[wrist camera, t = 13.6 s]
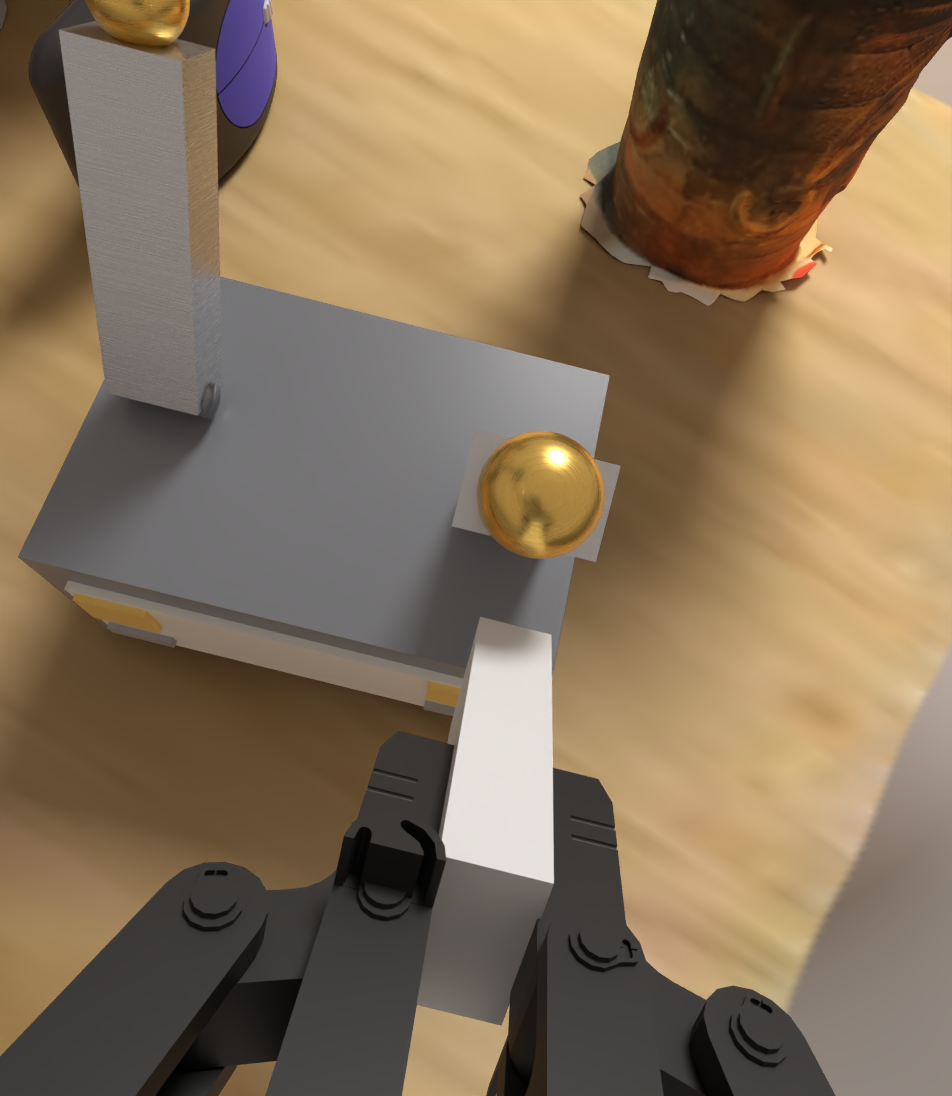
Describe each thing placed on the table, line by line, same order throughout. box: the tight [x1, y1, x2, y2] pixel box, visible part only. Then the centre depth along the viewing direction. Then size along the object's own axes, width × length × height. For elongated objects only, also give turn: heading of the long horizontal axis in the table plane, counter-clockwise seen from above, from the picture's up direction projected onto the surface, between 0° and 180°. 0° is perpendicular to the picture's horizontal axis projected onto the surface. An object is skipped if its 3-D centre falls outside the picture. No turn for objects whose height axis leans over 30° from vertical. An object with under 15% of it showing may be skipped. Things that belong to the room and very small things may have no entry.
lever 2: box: [452, 429, 621, 562], centre depth 20 cm, size 3×2×13 cm
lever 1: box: [59, 0, 222, 419], centre depth 22 cm, size 3×2×13 cm
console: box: [18, 277, 610, 717], centre depth 30 cm, size 17×12×8 cm
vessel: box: [580, 0, 952, 306], centre depth 34 cm, size 14×14×20 cm
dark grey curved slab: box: [28, 0, 277, 189], centre depth 37 cm, size 16×5×9 cm, turn 158°
